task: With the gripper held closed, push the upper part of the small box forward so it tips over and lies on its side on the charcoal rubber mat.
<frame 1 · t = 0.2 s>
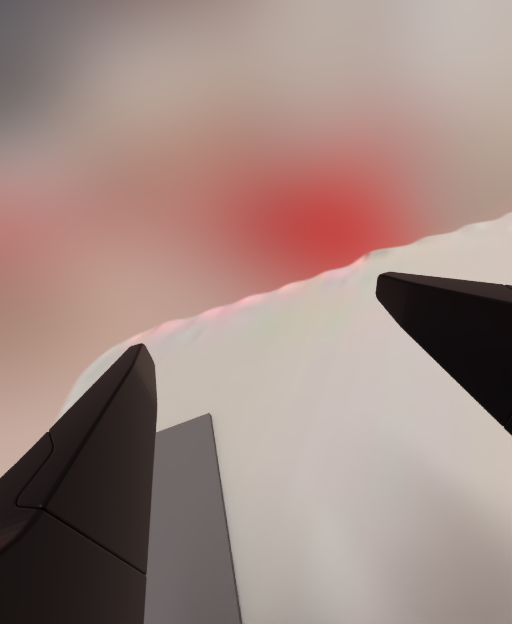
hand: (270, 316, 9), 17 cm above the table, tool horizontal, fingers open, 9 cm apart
mat: (129, 563, 17), on the table
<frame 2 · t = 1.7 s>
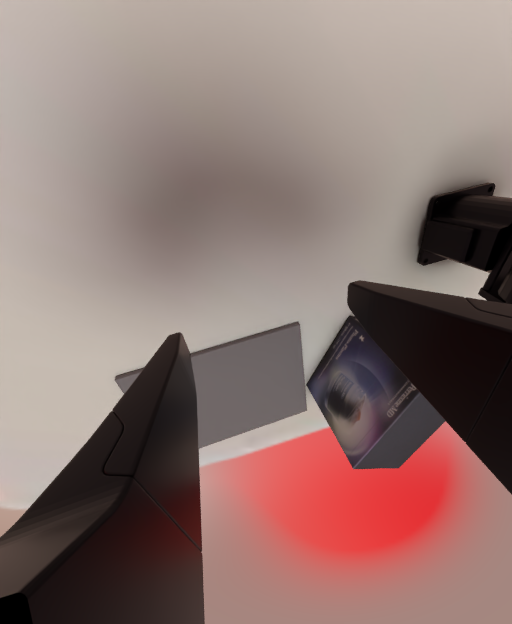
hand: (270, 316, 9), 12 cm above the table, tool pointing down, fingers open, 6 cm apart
mat: (227, 394, 28), on the table
small box: (343, 354, 30), on the table
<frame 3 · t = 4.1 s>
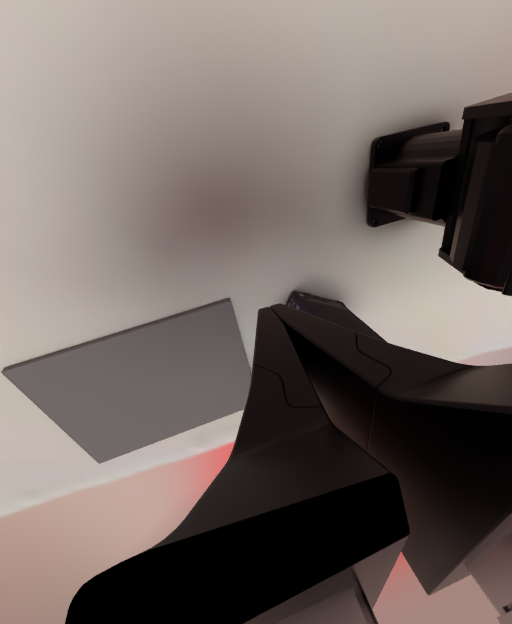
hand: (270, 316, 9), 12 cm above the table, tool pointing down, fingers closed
mat: (157, 387, 24), on the table
small box: (294, 337, 26), on the table
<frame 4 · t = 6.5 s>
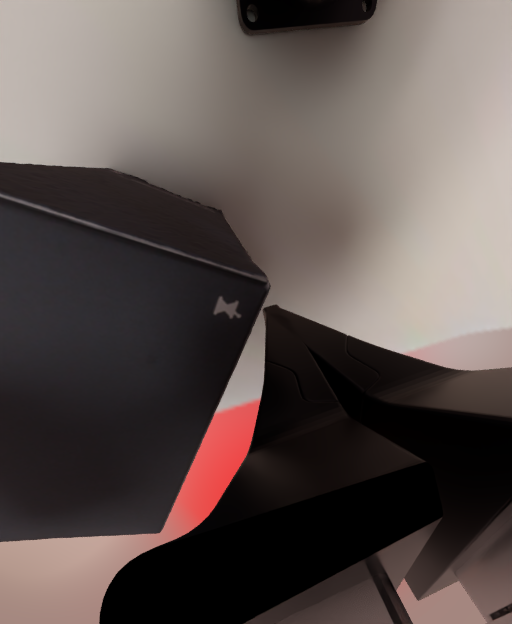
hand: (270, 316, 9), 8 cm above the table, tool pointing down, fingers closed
small box: (146, 278, 15), on the table, touching gripper
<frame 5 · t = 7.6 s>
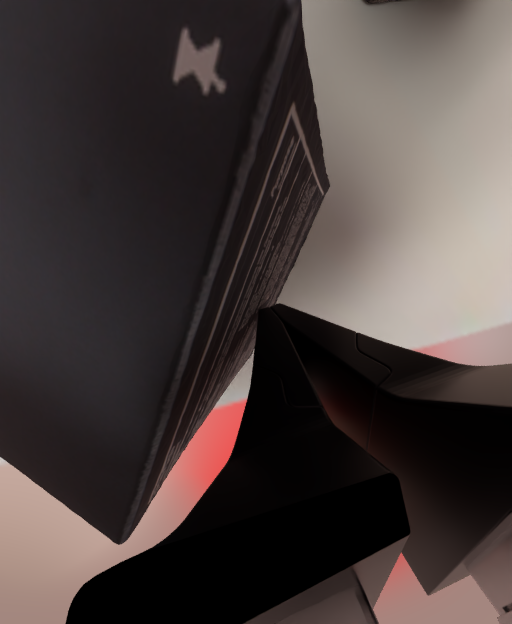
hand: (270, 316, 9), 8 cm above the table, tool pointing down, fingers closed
small box: (235, 257, 14), point 1 cm above the table
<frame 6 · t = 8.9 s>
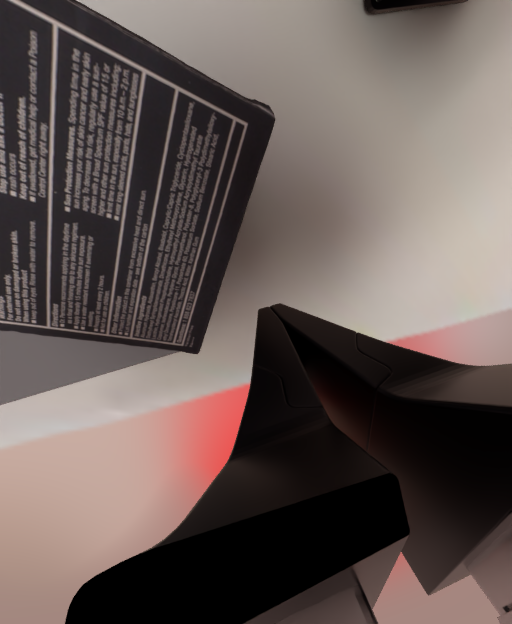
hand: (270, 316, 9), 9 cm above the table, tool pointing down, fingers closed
mat: (20, 296, 15), on the table
small box: (223, 241, 13), point 4 cm above the table, touching mat
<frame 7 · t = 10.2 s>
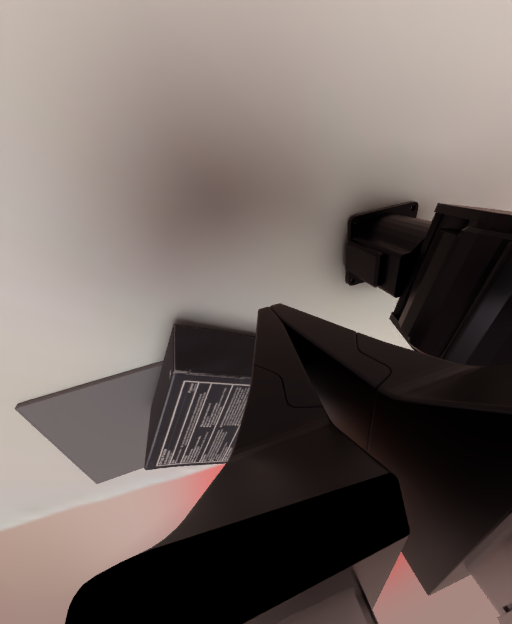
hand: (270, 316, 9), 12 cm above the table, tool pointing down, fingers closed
mat: (153, 418, 27), on the table
small box: (271, 398, 25), point 4 cm above the table, touching mat
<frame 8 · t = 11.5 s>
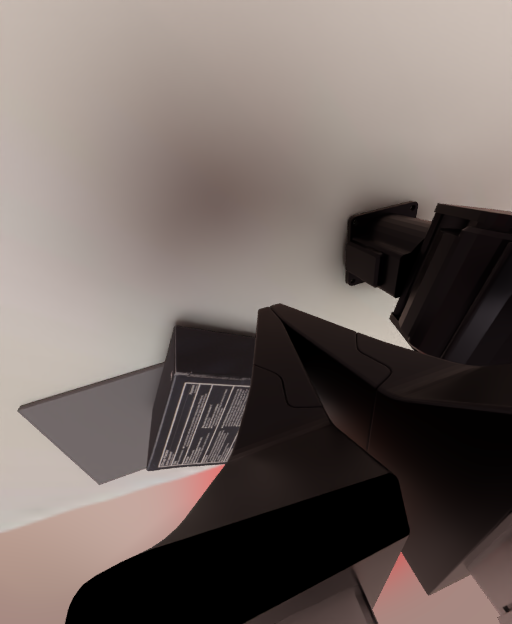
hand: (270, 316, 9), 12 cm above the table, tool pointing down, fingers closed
mat: (154, 419, 27), on the table
small box: (272, 399, 25), point 4 cm above the table, touching mat
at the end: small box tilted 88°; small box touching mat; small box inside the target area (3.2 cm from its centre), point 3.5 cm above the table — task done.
